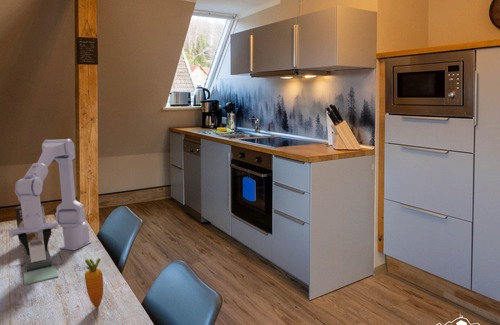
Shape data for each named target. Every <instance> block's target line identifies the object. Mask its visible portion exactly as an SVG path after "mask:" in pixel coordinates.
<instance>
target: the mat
mask: <svg viewBox="0 0 500 325" xmlns="http://www.w3.org/2000/svg"><path fill="white" fill-rule="evenodd" d="M22 274H23V283H24V284H23V285H24V286H26V285H30V284H35V283H38V282H43V281H48V280H52V279H55V278H59V275H58V270H57V267H56V265H52V267H47V268H43V269H38V270H34V271H29V272H27V271H25V272H23V273H22Z"/></svg>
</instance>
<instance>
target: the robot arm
mask: <svg viewBox="0 0 500 325" xmlns="http://www.w3.org/2000/svg"><path fill="white" fill-rule="evenodd" d="M75 148H76V147H75V143H74V142H73V141H72V139H71V138H66V139H64V138H63V139H44V140H43V142H42V144H41V150H42V151H41V154H40V156H39V159H38V160H37V162H35V163H32V165H31V166H30V167H29V168H28V170H27V172H26V173H25V175H24V176H23V178H19V180H17V181H16V182H15V185H14V186H15V187H14V193H15V195H16V196H17V199H18V202H20V206H21V208H22V215H23V223H24V227H21V228H14V229H10V230H8V234H9V238H13V237H15V236H17V237H18V241H19V240H20V241H21V243H22V244H23V245H22V246H23V248H25V249H26V251H27V254H28V256H29V255H30V251H29V245H28V241H27V234H28V233H34V232H39V231H43V238H44V246H45V252H47V246H48V247H49V241H50V237H51V235H52V230H57V229H58V230H59V226H60V228H62V236H63V245H61V246H59V249H61V250H69V251H76V250H79V249H81V248H83V247H84V246H86V245H89V244H90V243H92V240H91V239H90V231H89V227H88V226H89V225H88V224H87V223H86V222H85V221H86V217H87V216H86V211H85V206H84V204H83V203H81V202H80V201H78V200H76V189H75V188H76V187H75V178H74V177H75V176H74V167H73V165H74V164H73V160H74V159H76V149H75ZM54 160H55V162H56V163H58V172H59V182H60V194H61V195H60V196H61V202H60V203H59V205H57V207H56V213H55V222H46V223H43V218H42V210H41V197H40V196H41V193H42V191H43V186H44V180H45V179H46V177H47V175H49V174H48V173H49V168H48V167H49V166H50V165H51V164H52V162H53V161H54Z"/></svg>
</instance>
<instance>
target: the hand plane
mask: <svg viewBox="0 0 500 325" xmlns="http://www.w3.org/2000/svg"><path fill="white" fill-rule="evenodd" d="M36 239H37V236H36V237H32V240H36ZM48 247H49V245H48V246H47V252H45V254H46V260H41V261H36V262H32V263H31V258H30V255H29V256H28V254H27V251H26V249H25V247H23V252H24V260H25V269H26V272H29V271H34V270H38V269H43V268H47V267H52V266H53V265H52V264H53V263H52V258H51V254H50V250H49V248H48Z"/></svg>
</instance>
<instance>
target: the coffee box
mask: <svg viewBox="0 0 500 325" xmlns="http://www.w3.org/2000/svg"><path fill="white" fill-rule="evenodd" d="M41 210H42V218H43V223H47V222H46V215H45V206H44V204H43V203H42V204H41ZM14 212H15V219H16V227H17V228H21V227H24V223H23V215H22V208H21V205H19V206H17V207H15V208H14ZM17 228H16V229H17ZM36 236H37V239H42V240H43V242H44V238H43V231H39V232H34V233H28V234H27V241H28V243H30V241H31V240H32V237H36ZM18 243H19V246H24V245H23V244H22V243H21V241H20V240H19V239H18ZM28 246H29V244H28Z"/></svg>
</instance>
